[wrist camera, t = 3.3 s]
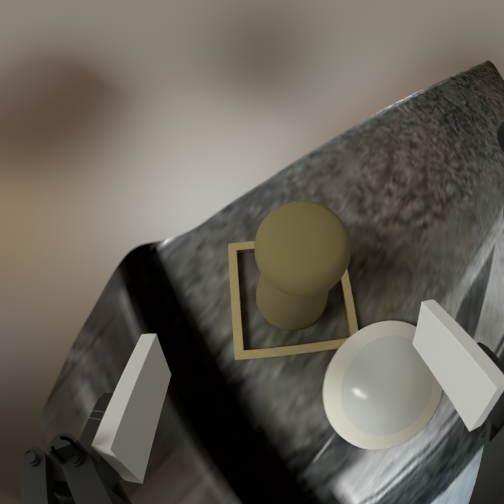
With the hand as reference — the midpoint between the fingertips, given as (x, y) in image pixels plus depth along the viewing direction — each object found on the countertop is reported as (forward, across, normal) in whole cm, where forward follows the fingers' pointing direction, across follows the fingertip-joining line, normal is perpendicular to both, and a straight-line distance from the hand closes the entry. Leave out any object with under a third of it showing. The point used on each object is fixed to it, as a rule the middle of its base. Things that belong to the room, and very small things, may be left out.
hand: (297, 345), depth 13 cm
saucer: (+4, +8, -10) cm, 13 cm away
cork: (+11, +1, -3) cm, 11 cm away
